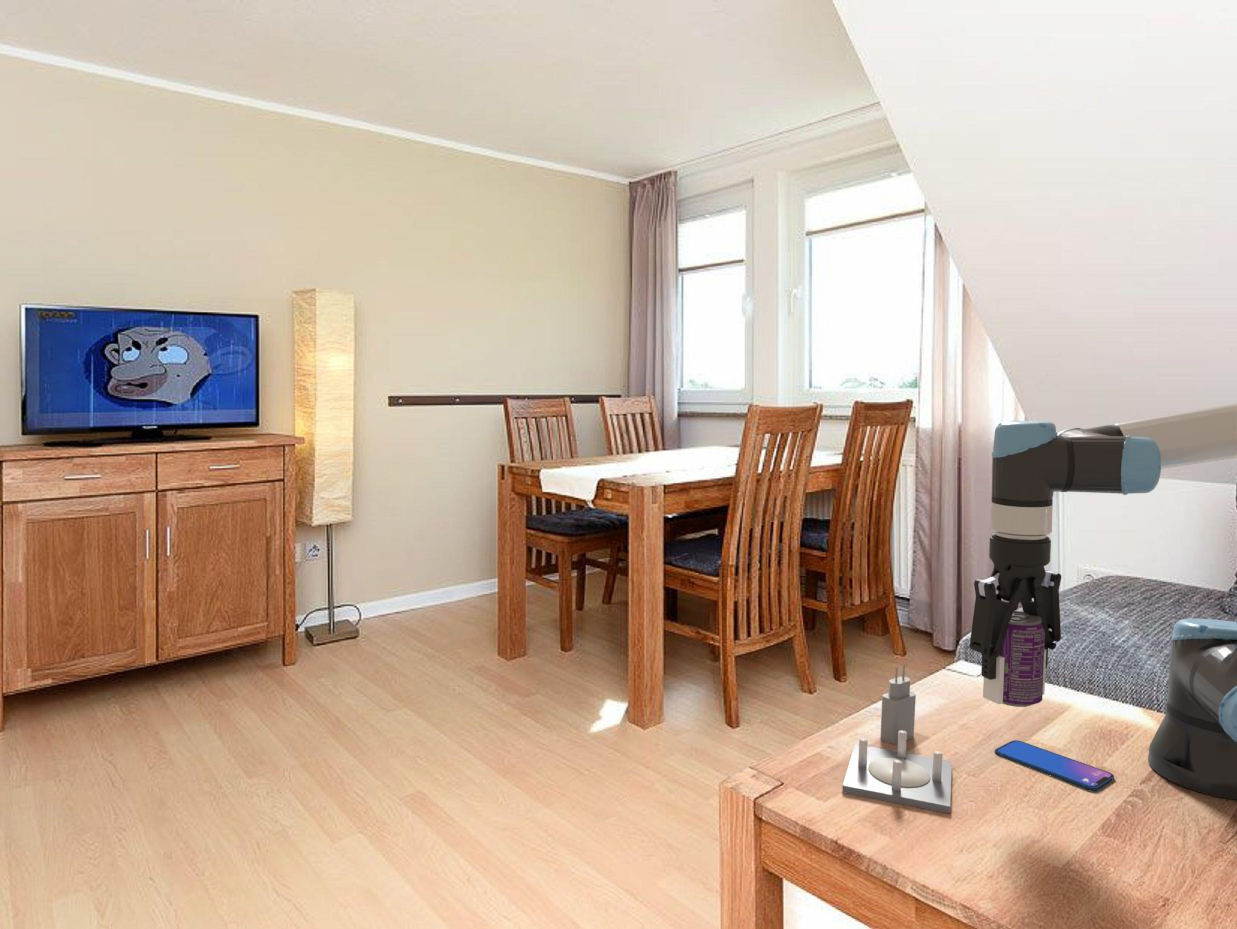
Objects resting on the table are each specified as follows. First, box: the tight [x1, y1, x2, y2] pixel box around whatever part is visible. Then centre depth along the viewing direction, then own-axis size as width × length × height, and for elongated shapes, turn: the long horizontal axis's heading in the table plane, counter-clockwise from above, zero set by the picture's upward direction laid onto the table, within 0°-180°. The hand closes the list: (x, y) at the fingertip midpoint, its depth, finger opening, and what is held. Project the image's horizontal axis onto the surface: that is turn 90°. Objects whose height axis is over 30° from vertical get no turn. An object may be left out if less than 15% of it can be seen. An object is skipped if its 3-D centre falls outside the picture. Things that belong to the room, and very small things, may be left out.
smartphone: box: [994, 739, 1115, 792], centre depth 122 cm, size 7×1×15 cm
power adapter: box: [880, 664, 917, 745], centre depth 130 cm, size 3×5×12 cm, turn 125°
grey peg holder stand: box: [841, 730, 953, 814], centre depth 117 cm, size 14×14×5 cm
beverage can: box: [991, 610, 1045, 708], centre depth 112 cm, size 7×7×12 cm
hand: (1013, 695), depth 113 cm, fingers closed on beverage can, 7 cm apart
